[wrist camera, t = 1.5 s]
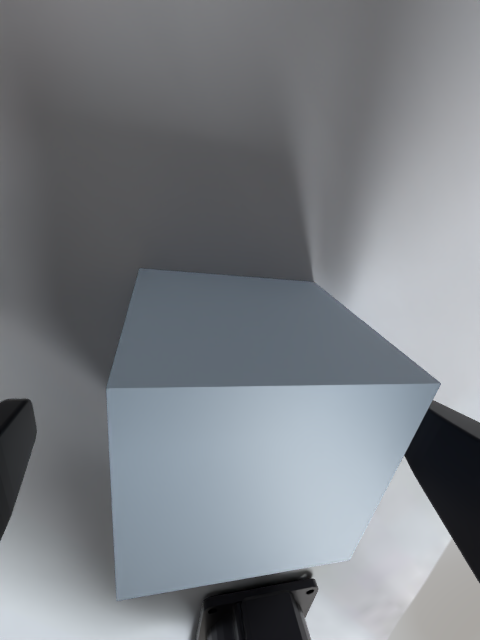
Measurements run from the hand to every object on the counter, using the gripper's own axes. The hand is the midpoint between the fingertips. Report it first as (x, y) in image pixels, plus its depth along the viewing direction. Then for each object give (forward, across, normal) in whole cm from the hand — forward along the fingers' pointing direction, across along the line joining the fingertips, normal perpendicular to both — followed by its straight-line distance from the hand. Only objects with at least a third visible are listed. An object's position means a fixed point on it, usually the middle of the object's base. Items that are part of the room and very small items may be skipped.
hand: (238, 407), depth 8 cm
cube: (+3, 0, 0) cm, 3 cm away
